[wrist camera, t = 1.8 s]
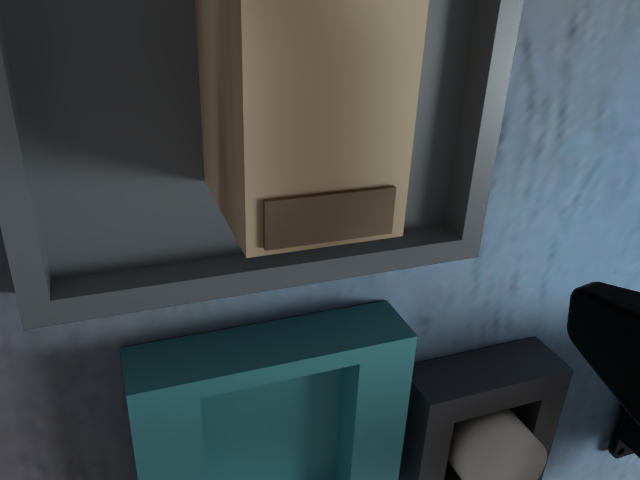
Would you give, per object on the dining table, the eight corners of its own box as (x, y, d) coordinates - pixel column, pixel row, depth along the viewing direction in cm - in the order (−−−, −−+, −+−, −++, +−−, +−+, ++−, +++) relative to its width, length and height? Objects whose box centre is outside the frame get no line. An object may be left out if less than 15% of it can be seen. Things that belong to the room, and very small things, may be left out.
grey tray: (507, -164, 17) (554, -174, 16) (448, 233, 23) (477, 257, 21) (-86, -233, 12) (-110, -258, 11) (27, 293, 18) (23, 329, 16)
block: (339, -39, 16) (435, -27, 12) (330, 169, 19) (405, 238, 15) (192, -43, 15) (242, -31, 11) (204, 181, 18) (248, 261, 13)
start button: (518, 393, 27) (555, 431, 25) (504, 452, 28) (537, 492, 26) (448, 411, 25) (481, 453, 23) (437, 472, 27) (467, 515, 25)
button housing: (535, 336, 28) (573, 369, 25) (508, 447, 31) (540, 485, 29) (400, 366, 25) (430, 405, 23) (386, 483, 28) (411, 527, 26)
